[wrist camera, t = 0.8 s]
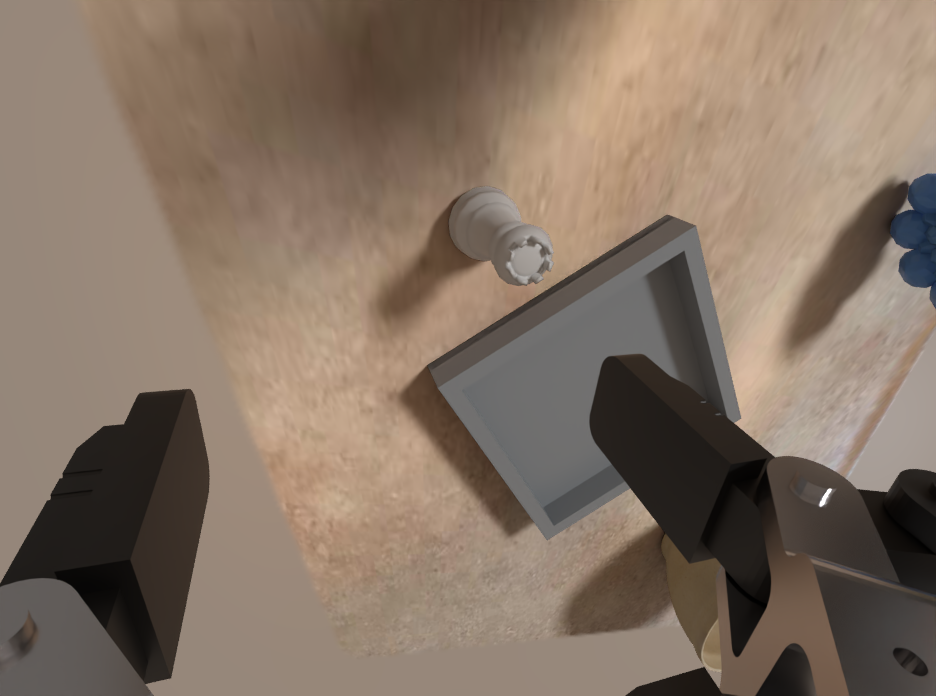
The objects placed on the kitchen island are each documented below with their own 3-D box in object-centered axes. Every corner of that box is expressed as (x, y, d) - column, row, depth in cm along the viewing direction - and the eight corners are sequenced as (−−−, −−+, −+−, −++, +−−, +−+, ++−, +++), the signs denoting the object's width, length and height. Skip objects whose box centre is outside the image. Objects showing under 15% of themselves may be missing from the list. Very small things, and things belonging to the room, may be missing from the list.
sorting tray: (667, 214, 36) (696, 225, 33) (717, 399, 47) (741, 418, 44) (427, 365, 36) (437, 387, 33) (533, 514, 47) (547, 540, 44)
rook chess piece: (492, 265, 34) (542, 315, 27) (433, 238, 32) (472, 284, 25) (526, 204, 32) (587, 239, 26) (467, 171, 30) (518, 201, 24)
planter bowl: (670, 596, 61) (736, 688, 52) (608, 547, 53) (674, 647, 44) (777, 511, 60) (864, 592, 50) (730, 446, 51) (826, 529, 42)
